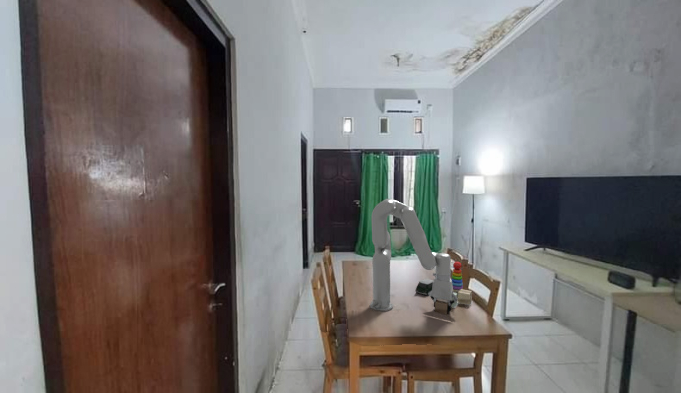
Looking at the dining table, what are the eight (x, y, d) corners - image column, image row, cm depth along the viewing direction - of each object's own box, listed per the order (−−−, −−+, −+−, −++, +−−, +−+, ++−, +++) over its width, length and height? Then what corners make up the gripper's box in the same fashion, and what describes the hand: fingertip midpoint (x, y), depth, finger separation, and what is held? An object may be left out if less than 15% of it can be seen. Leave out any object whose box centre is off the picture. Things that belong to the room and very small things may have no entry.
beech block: (469, 305, 170) (469, 294, 169) (458, 302, 173) (458, 292, 173) (471, 301, 174) (471, 291, 174) (460, 299, 178) (460, 289, 178)
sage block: (454, 307, 167) (454, 296, 166) (443, 304, 170) (443, 294, 170) (457, 303, 171) (457, 293, 171) (446, 301, 175) (446, 291, 175)
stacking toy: (461, 294, 187) (462, 264, 186) (448, 291, 192) (448, 262, 191) (464, 290, 194) (464, 261, 193) (451, 287, 198) (451, 259, 197)
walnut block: (446, 315, 158) (446, 304, 158) (434, 312, 162) (435, 301, 161) (449, 311, 163) (449, 300, 163) (438, 308, 167) (438, 298, 166)
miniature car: (442, 290, 194) (442, 278, 194) (426, 298, 182) (426, 284, 182) (430, 287, 201) (430, 275, 200) (414, 294, 189) (414, 281, 188)
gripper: (424, 276, 163) (424, 308, 164) (457, 282, 153) (457, 317, 154) (429, 272, 169) (428, 304, 170) (461, 278, 159) (461, 311, 160)
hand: (442, 310), depth 162 cm, fingers closed on walnut block, 6 cm apart
